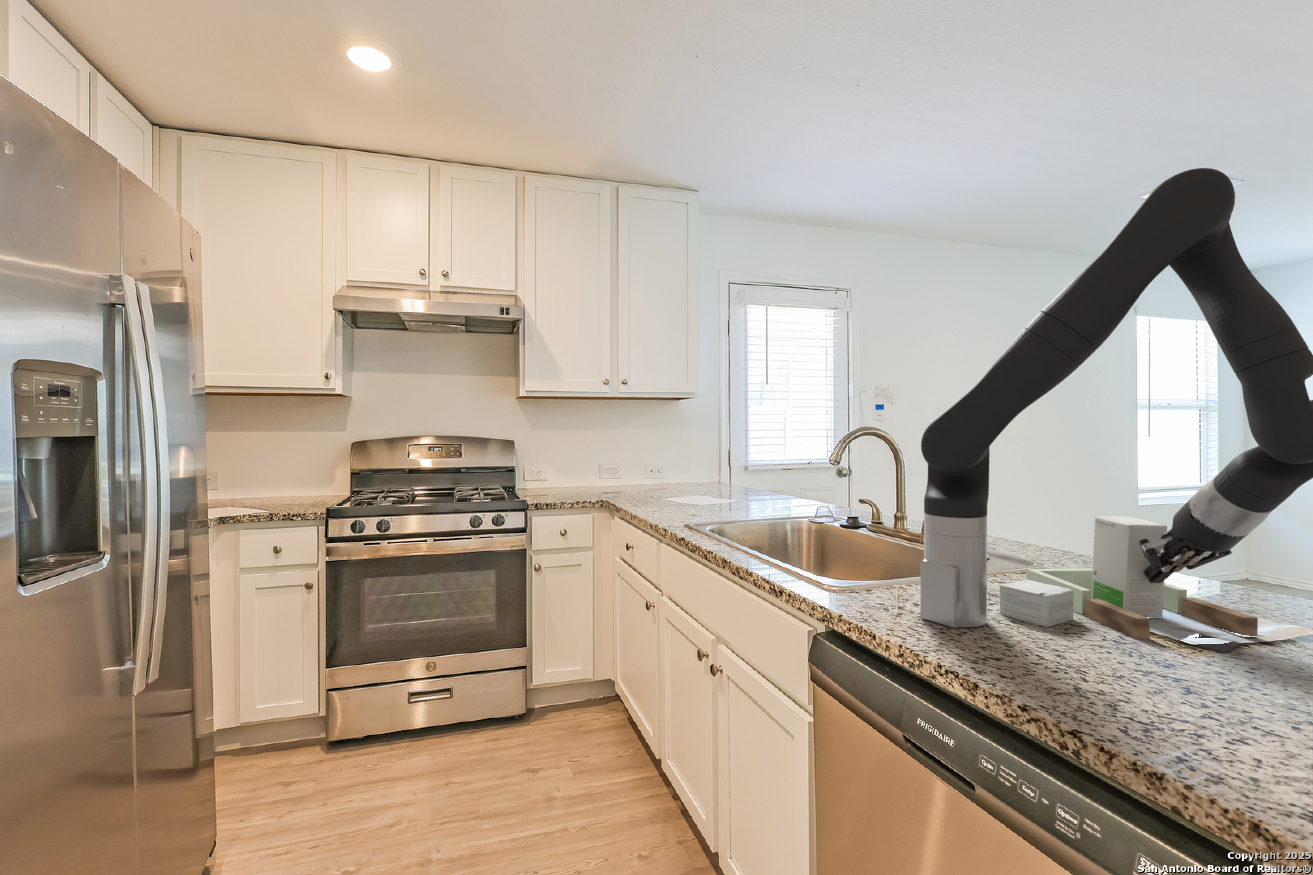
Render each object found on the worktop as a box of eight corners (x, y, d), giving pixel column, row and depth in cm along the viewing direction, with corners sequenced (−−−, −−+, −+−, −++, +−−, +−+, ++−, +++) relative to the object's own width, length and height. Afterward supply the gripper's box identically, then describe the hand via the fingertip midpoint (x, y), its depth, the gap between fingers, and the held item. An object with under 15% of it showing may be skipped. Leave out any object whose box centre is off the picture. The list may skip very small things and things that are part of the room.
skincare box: (1090, 603, 106) (1090, 515, 106) (1128, 603, 106) (1128, 515, 106) (1126, 619, 98) (1127, 523, 98) (1167, 619, 98) (1168, 523, 98)
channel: (1257, 637, 89) (1257, 617, 89) (1136, 639, 89) (1136, 618, 89) (1193, 615, 100) (1193, 597, 100) (1085, 616, 99) (1085, 598, 99)
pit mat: (1224, 653, 83) (1224, 650, 83) (1179, 641, 88) (1179, 639, 88) (1240, 644, 86) (1240, 642, 86) (1196, 634, 91) (1196, 632, 91)
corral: (1186, 613, 101) (1186, 589, 101) (1082, 614, 101) (1082, 590, 100) (1117, 589, 116) (1117, 568, 116) (1026, 589, 116) (1026, 569, 115)
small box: (1026, 607, 105) (1026, 578, 105) (1074, 620, 98) (1075, 589, 98) (998, 614, 101) (998, 584, 101) (1046, 628, 94) (1047, 596, 94)
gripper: (1250, 491, 88) (1178, 557, 100) (1159, 492, 88) (1098, 558, 100) (1288, 534, 82) (1207, 598, 95) (1191, 535, 82) (1122, 599, 95)
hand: (1151, 578), depth 97 cm, fingers closed
